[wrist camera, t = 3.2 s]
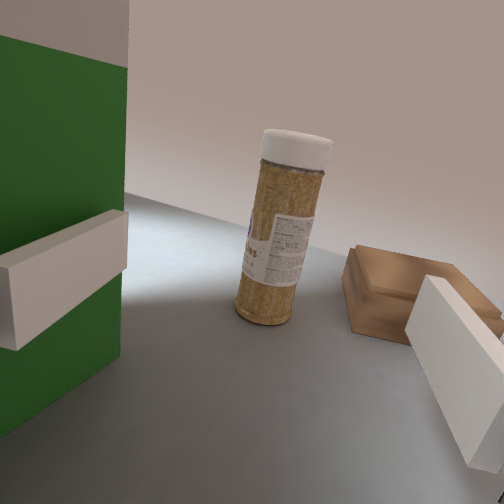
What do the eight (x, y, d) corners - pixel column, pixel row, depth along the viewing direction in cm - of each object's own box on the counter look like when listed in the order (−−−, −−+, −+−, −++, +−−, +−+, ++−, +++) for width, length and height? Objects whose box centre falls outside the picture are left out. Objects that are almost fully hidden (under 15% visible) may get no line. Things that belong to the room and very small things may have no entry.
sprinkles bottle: (230, 295, 29) (257, 124, 24) (282, 297, 30) (318, 135, 25) (239, 327, 24) (274, 129, 20) (299, 329, 26) (347, 141, 21)
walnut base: (352, 331, 26) (366, 285, 25) (341, 278, 36) (351, 242, 34) (487, 363, 25) (511, 317, 24) (440, 299, 35) (455, 263, 33)
